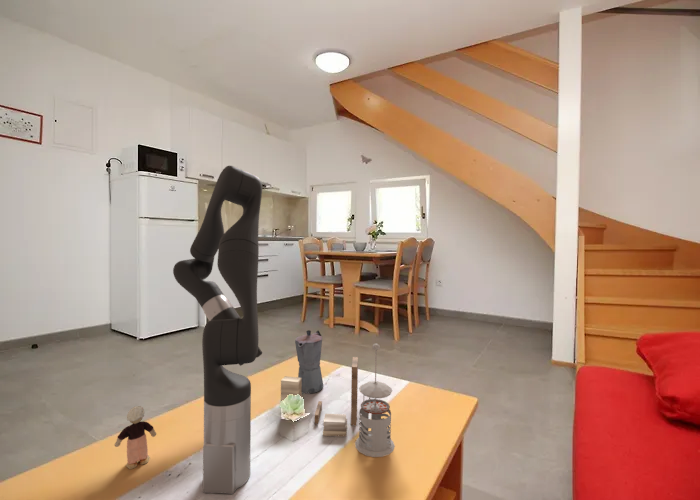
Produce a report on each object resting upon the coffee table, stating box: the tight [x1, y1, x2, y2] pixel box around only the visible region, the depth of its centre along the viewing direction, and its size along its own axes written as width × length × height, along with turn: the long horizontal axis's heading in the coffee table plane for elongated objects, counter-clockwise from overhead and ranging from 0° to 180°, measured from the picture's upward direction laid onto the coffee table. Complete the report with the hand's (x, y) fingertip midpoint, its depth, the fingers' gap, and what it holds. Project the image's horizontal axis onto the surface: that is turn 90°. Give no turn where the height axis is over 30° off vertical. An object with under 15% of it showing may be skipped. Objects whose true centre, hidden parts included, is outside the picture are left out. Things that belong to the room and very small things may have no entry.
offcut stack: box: [322, 413, 348, 438], centre depth 88 cm, size 4×6×4 cm
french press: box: [354, 343, 396, 458], centre depth 83 cm, size 10×12×25 cm
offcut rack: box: [313, 356, 359, 427], centre depth 95 cm, size 8×12×16 cm
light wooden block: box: [280, 376, 302, 402], centre depth 95 cm, size 3×5×11 cm, turn 79°
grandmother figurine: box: [114, 405, 157, 470], centre depth 74 cm, size 8×4×13 cm, turn 141°
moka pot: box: [294, 329, 324, 394], centre depth 115 cm, size 10×15×20 cm, turn 163°
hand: (252, 359), depth 96 cm, fingers open, 8 cm apart
